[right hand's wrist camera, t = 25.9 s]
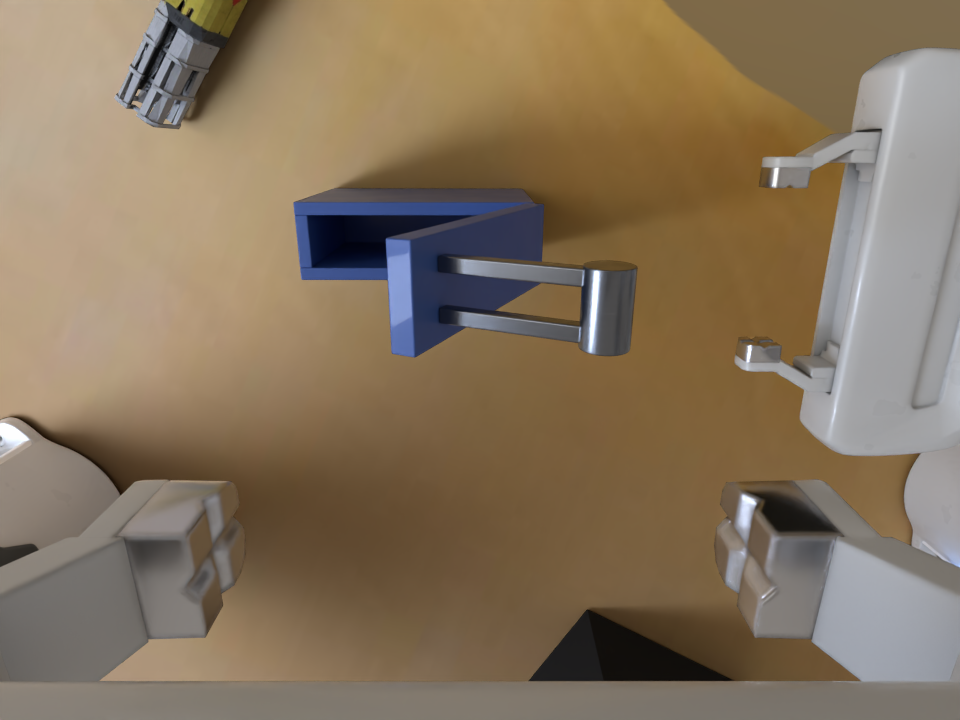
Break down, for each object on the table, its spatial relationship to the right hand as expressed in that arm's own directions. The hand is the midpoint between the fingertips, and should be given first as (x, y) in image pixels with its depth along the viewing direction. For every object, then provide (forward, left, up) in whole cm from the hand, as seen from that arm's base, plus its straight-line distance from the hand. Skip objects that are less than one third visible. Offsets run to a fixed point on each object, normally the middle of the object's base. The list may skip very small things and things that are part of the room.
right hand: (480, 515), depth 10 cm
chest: (-4, +1, -39) cm, 40 cm away
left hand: (+14, -2, -22) cm, 27 cm away
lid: (0, 0, -21) cm, 22 cm away
